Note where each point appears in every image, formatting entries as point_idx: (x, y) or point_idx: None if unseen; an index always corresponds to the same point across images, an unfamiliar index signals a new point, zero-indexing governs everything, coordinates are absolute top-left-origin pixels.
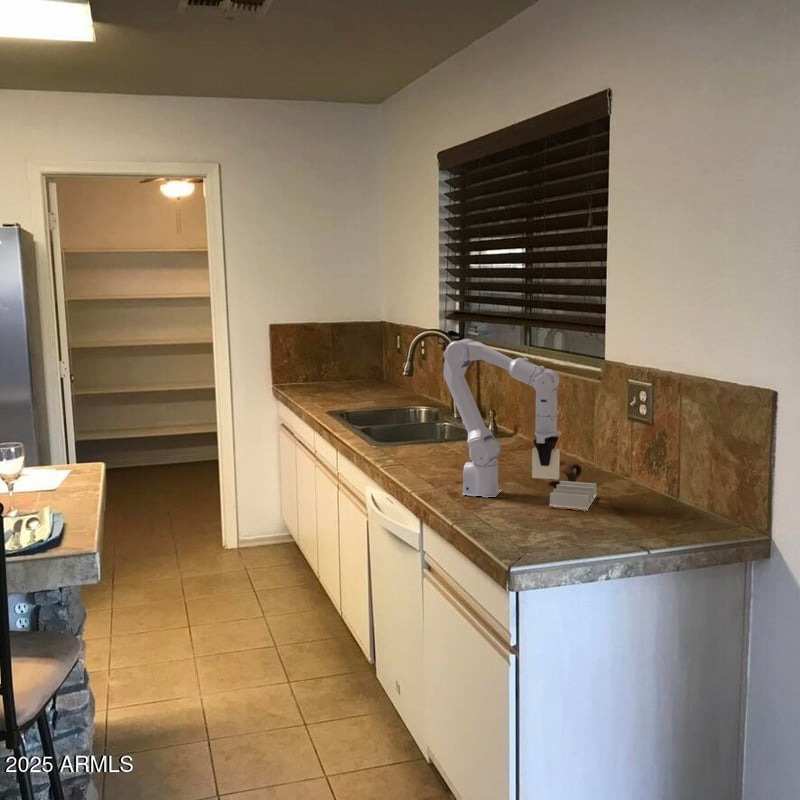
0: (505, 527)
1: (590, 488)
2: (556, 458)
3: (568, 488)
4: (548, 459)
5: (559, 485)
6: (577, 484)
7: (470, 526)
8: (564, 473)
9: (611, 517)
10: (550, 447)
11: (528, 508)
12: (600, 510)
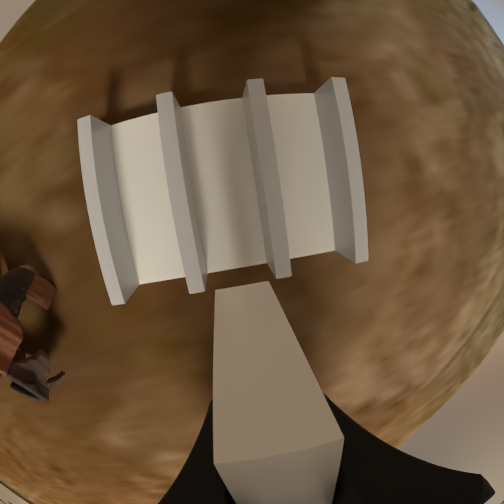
0: (497, 273)
1: (174, 106)
2: (309, 378)
3: (192, 225)
4: (339, 413)
5: (200, 276)
6: (104, 210)
7: (493, 331)
8: (19, 322)
9: (346, 24)
10: (444, 472)
11: (369, 305)
12: (284, 59)
